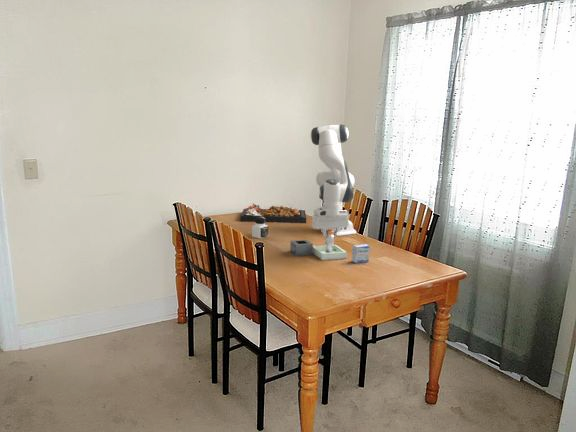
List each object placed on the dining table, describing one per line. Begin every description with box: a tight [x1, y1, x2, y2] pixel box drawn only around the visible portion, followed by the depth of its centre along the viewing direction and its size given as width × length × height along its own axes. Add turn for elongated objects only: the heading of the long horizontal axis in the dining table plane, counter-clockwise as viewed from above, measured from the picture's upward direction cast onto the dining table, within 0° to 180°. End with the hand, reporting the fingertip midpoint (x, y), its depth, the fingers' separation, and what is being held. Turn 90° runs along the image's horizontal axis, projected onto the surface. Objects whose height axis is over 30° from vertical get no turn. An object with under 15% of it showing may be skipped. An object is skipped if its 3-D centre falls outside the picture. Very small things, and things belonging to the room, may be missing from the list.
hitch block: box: [289, 239, 314, 257], centre depth 259 cm, size 9×9×6 cm
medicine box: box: [351, 243, 370, 264], centre depth 247 cm, size 8×4×9 cm, turn 117°
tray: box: [312, 244, 348, 261], centre depth 256 cm, size 14×14×4 cm
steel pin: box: [324, 229, 335, 253], centre depth 255 cm, size 4×4×12 cm
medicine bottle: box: [251, 217, 269, 240], centre depth 288 cm, size 7×7×12 cm
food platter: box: [240, 202, 307, 224], centre depth 337 cm, size 45×25×10 cm, turn 90°
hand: (329, 236), depth 254 cm, fingers closed on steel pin, 4 cm apart
